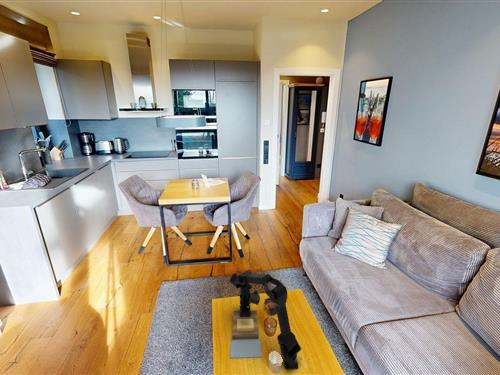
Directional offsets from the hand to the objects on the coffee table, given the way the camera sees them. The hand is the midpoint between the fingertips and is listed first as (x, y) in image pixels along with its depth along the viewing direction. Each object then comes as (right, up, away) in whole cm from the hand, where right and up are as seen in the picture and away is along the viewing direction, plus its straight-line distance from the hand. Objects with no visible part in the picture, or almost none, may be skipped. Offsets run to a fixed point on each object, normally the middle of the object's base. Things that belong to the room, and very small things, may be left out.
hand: (245, 313), depth 142 cm
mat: (0, -10, -15) cm, 18 cm away
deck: (0, -6, -3) cm, 7 cm away
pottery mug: (+17, -2, +9) cm, 19 cm away
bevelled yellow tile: (0, -3, -7) cm, 8 cm away
